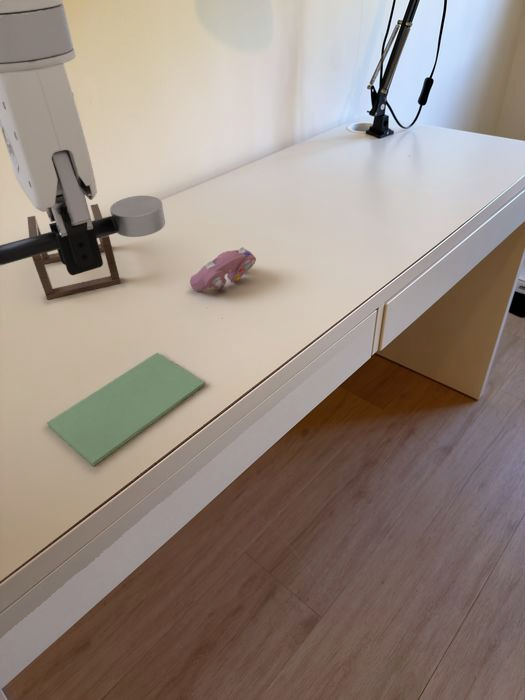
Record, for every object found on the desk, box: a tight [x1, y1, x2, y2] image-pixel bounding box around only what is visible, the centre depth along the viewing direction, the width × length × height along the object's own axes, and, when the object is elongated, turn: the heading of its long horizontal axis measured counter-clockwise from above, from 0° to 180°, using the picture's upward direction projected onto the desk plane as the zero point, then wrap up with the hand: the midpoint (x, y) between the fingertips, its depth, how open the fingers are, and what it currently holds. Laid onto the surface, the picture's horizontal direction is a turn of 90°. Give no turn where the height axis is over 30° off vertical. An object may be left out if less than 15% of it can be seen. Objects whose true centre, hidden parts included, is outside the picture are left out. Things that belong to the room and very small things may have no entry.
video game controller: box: [189, 246, 257, 292], centre depth 79 cm, size 10×5×7 cm, turn 131°
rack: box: [27, 203, 121, 300], centre depth 84 cm, size 11×13×8 cm
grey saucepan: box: [0, 195, 166, 266], centre depth 48 cm, size 16×5×2 cm, turn 121°
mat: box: [46, 352, 206, 467], centre depth 61 cm, size 16×9×1 cm, turn 138°
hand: (82, 263), depth 49 cm, fingers closed on grey saucepan, 1 cm apart
